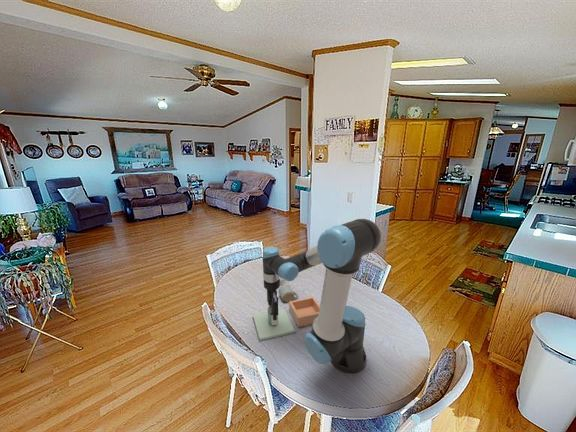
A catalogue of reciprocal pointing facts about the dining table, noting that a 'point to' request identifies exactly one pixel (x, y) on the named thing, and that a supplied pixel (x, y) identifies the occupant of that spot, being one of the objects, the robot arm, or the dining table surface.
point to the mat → (270, 338)
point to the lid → (271, 331)
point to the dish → (304, 311)
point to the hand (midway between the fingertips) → (273, 320)
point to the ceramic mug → (287, 293)
